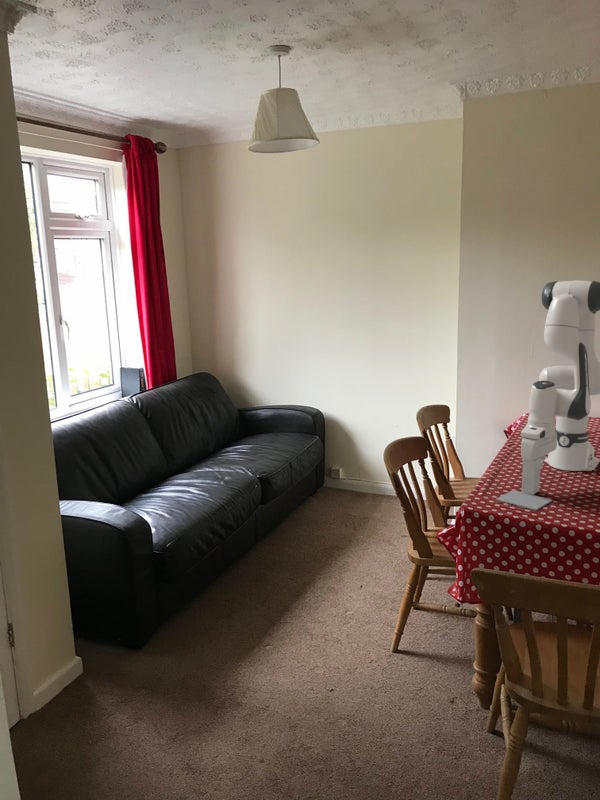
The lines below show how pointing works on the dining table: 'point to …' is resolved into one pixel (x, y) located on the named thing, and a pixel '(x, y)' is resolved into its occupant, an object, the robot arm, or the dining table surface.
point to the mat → (524, 500)
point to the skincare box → (531, 476)
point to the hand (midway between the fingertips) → (538, 467)
